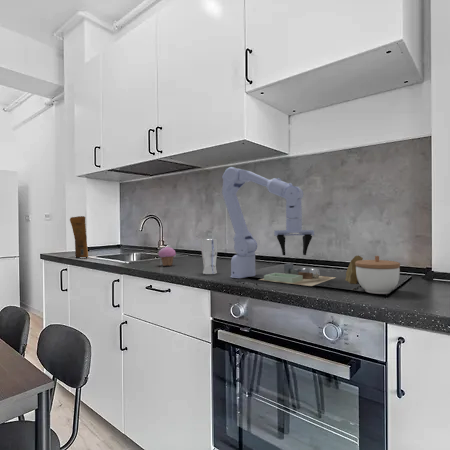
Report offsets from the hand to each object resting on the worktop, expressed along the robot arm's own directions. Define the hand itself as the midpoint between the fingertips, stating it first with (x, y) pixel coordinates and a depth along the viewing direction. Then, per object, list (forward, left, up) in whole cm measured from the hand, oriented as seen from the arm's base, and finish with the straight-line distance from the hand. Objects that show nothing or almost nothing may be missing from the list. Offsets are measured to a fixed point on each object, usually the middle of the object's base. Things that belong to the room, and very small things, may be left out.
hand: (294, 255), depth 125 cm
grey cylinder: (+4, +4, -9) cm, 10 cm away
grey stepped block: (-3, +4, -8) cm, 10 cm away
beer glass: (-39, -4, -10) cm, 41 cm away
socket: (+4, +4, -10) cm, 11 cm away
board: (+1, 0, -10) cm, 10 cm away
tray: (-2, -5, -10) cm, 11 cm away
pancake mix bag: (-160, -3, -10) cm, 160 cm away
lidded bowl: (+30, -2, -10) cm, 32 cm away
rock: (+19, +6, -10) cm, 22 cm away
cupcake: (-75, +2, -10) cm, 76 cm away
